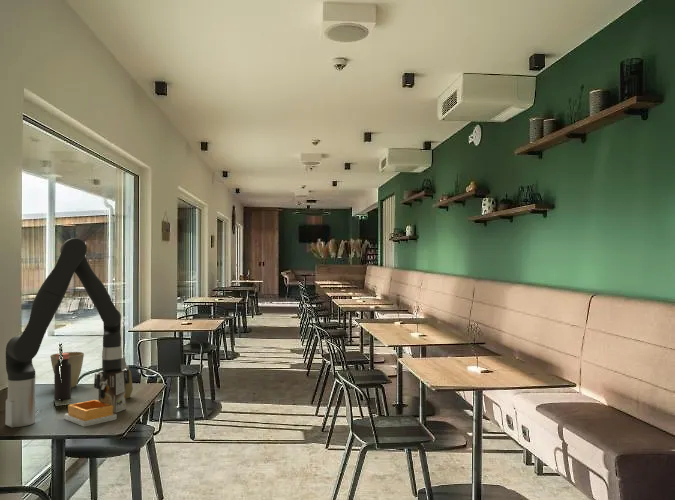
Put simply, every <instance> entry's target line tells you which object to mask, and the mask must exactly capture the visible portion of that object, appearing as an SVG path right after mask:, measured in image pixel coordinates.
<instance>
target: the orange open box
mask: <svg viewBox="0 0 675 500" xmlns="http://www.w3.org/2000/svg"><path fill="white" fill-rule="evenodd" d="M67 411H68V412H67V413H64V418H63V419H64V420H66V421H69V422H70V423H73V424H76V425H79V426H81V427H83V428H85V427H89V426H93V425H98V424H102V423H106V422H111V421H115V420H118V419H117V418H118V416H117V414H118V413H113V405H110V404H107V403H104V402H101V401H99V399H92V400H87V401H82V402H77V403H76V402H75V403H72V404H71V403H70V404H68V406H67Z"/></svg>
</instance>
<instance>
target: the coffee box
mask: <svg viewBox="0 0 675 500" xmlns="http://www.w3.org/2000/svg"><path fill="white" fill-rule="evenodd" d="M102 372H103V370H102V371H99V372H98V373H97V374H102ZM107 379H108V384H107V385H106V386H105V388H104V399H101V398H100V397H99V396H98V401H101V402H104V403H107V404H110V405H113V413H115V414H118V413H119V412H123V411H124V410H126V399H125V371H116V372H110V373H107V375H106V379H105V378H104V377H101V379H100V384H101V382H105V381H106V380H107ZM102 385H103V384H102ZM97 390H98V395H99V389H97Z"/></svg>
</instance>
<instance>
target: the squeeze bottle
mask: <svg viewBox="0 0 675 500" xmlns="http://www.w3.org/2000/svg"><path fill="white" fill-rule="evenodd" d="M123 369H128V370H129V383H127V384H126V385H125V400H127V399H129V398H131V395H132V393H133V391H134V390H133V377H132V371H131V370H130V365H127V361H126V358H125V357H122V367H121V370H123Z"/></svg>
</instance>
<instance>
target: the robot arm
mask: <svg viewBox="0 0 675 500" xmlns="http://www.w3.org/2000/svg"><path fill="white" fill-rule="evenodd" d="M87 251H88V247H87V243H86V242H85V241H84V240H83V239H81V238H79V237H72V238H70V239H67V240H66V241H65V242H64V243H62V244H61V246H60V251H59V252H60V254H59V257H58V259H57V261H56V264H55V266H54V267H53V269H52V270H51V272H50V273H49V274H48V275H47V277H46V278H45V279H44V281H43V283H42V284H41V286H40V287H39V289H38V290H37V293H36V294H35V297H34V298H33V302H32V305H31V310H30V315H29V319H28V323H27V324H26V325H25V326H26V327H25V328H24V330H23V332H22V333H21V335H15V336H12V338H10V339H9V340H8V342H7V343H6V347H5V369H6V370H5V371H6V374H7V398H6V399H5V422H4V423H5V426H7V427H9V428H19V427H25V426H26V427H27V426H31V425H33V424H35V423H36V369H35V367H34V365H33V359H34V358H35V357H36V355H37V354H38V353H39V351H40V350H39V349H40V347H41V345H42V342H43V340H44V337H45V334H46V332H47V330H48V328H49V326H50V324H51V322H52V321H53V319H54V316H55V315H56V313H57V310H59V307H60V305H61V304H62V301H63V299H64V297H65V295H66V292H67V291H68V288H69V286H70V283H71V280H72V278H73V276H74V274H75V275H76V276H77V278H78V280H79V281H80V283H81V284H82V287H83V288H84V290H85V292H86V293H87V295H88V296H89V299H90V300H91V302H92V304H93V305H94V307H95V308H96V310H97V312H98V315H99V317H100V319H101V321H102V322H103V336H102V351H101V352H102V353H101V359H102V360H101V364H102V365H101V367H102V371H103V372H102V371H101V372H102V374H98V373H95V374H94V379H93V380H94V381H93V388H94V389H96V390H98V389H99V392H98V393H99V394H98V398H99V397H100V398H101V399H104V388H105V386H106V385H107V384H108V379H107V380H106V381H105V382H101V384H100V379H101V377H104V378H105V379H106V375H107V373H110V372H116V371H125V385H126V384H127V383H129V370H130V369H123V370H121V367H122V358H123V357H122V356H123V354H122V335H121V326H122V325H121V323H122V322H121V321H122V314H121V313H120V311H119V310H118V309H117V307H116V306H115V304H114V302H113V301H112V298H111V295H110V293H109V291H108V290H107V288H106V286H105V285H104V284H103V281H102V280H101V279H100V278H99V277H98V276H97V274H96V272H94V271H93V269H92V267H91V265H90V263H89V261H88V259H87V256H86V255H87ZM102 384H103V385H102Z"/></svg>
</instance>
